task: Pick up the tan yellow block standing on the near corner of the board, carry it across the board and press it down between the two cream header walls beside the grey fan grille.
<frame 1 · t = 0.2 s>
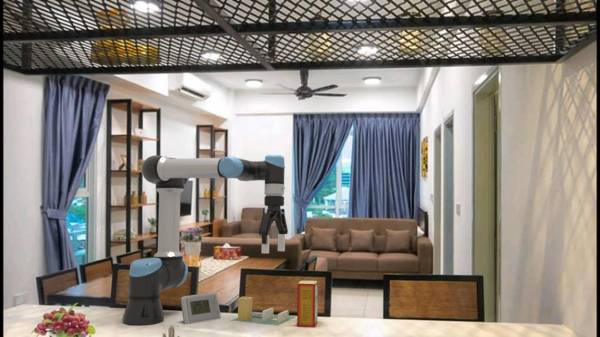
hand: (273, 252, 182), 27 cm above the kitchen counter, tool pointing down, fingers open, 13 cm apart
baking soda box: (307, 324, 183), on the kitchen counter
board: (263, 321, 187), on the kitchen counter
digital clock: (200, 324, 182), on the kitchen counter
tan yellow block: (245, 319, 185), point 1 cm above the kitchen counter, touching board
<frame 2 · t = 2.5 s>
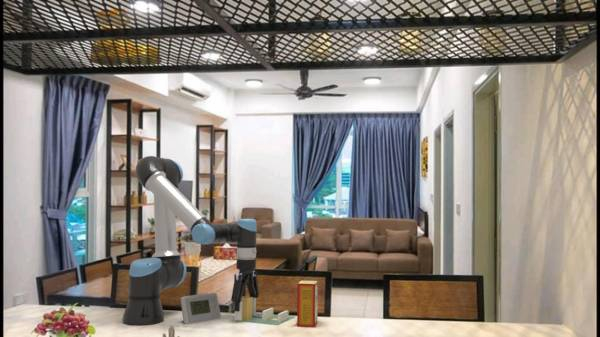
hand: (245, 317, 185), 2 cm above the kitchen counter, tool pointing down, fingers open, 10 cm apart
nothing on the kitchen counter moved.
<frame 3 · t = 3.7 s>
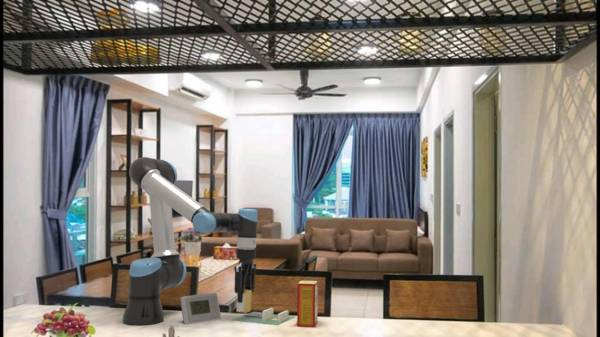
hand: (243, 309, 186), 5 cm above the kitchen counter, tool pointing down, fingers closed on tan yellow block, 4 cm apart
tan yellow block: (243, 311, 186), point 4 cm above the kitchen counter, touching gripper
everything else where it was.
when the fingers open (2 cm above the kitchen counter, at t = 6.9 s): tan yellow block stays where it is, resting on board.
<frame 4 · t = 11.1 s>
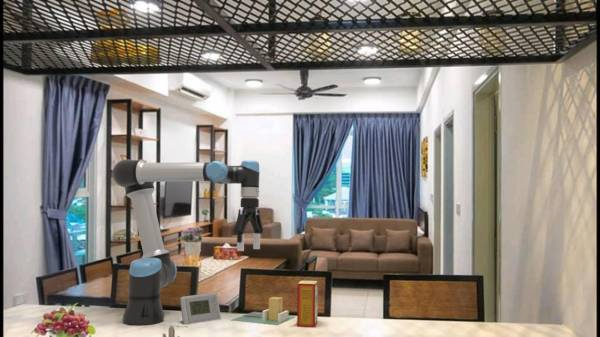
hand: (248, 250, 198), 27 cm above the kitchen counter, tool pointing down, fingers open, 13 cm apart
tan yellow block: (275, 319, 185), point 1 cm above the kitchen counter, touching board
everything else where it was.
at the end: tan yellow block 0.0 cm from the target spot on the board, point 1.3 cm above the board's base; tan yellow block tilted 0°; the gripper is holding nothing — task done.
